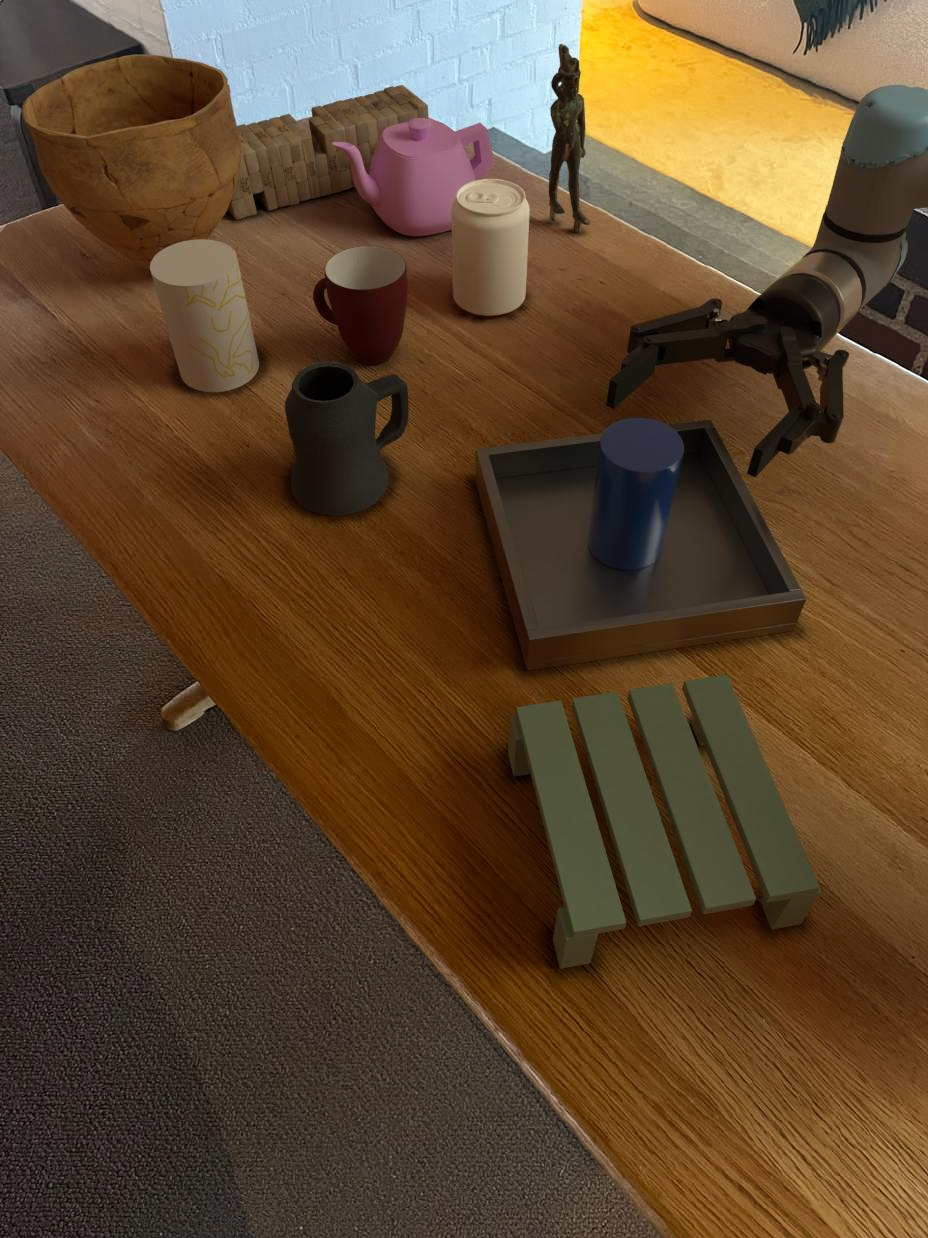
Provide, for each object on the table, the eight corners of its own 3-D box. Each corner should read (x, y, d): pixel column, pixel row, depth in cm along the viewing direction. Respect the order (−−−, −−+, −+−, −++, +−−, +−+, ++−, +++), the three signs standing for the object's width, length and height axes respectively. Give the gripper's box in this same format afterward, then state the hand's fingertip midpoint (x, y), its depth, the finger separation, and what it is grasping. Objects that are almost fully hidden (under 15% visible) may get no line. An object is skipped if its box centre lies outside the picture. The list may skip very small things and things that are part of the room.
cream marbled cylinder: (213, 402, 96) (185, 296, 87) (164, 369, 100) (132, 263, 90) (275, 365, 100) (254, 259, 91) (226, 335, 103) (201, 230, 94)
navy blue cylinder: (653, 578, 80) (674, 480, 71) (578, 559, 81) (590, 460, 72) (669, 526, 83) (691, 427, 75) (598, 509, 85) (611, 410, 76)
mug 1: (301, 363, 100) (286, 276, 92) (333, 321, 105) (321, 235, 97) (394, 383, 98) (387, 296, 90) (423, 339, 103) (418, 253, 95)
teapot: (325, 206, 121) (314, 115, 112) (470, 174, 126) (470, 84, 117) (361, 258, 113) (351, 164, 104) (514, 222, 118) (517, 129, 109)
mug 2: (321, 530, 85) (304, 430, 76) (273, 473, 90) (251, 373, 81) (434, 476, 89) (429, 376, 80) (382, 425, 94) (373, 325, 85)
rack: (800, 924, 62) (826, 886, 57) (559, 969, 60) (566, 933, 56) (716, 720, 72) (733, 673, 67) (507, 753, 70) (510, 707, 66)
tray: (793, 631, 77) (806, 598, 74) (526, 671, 75) (529, 639, 72) (703, 452, 91) (711, 418, 88) (475, 481, 89) (475, 448, 86)
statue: (570, 246, 114) (585, 66, 99) (533, 226, 117) (542, 48, 102) (597, 232, 116) (616, 53, 101) (560, 213, 119) (572, 36, 104)
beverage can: (520, 323, 104) (524, 218, 95) (447, 316, 105) (444, 211, 96) (529, 282, 109) (535, 179, 100) (460, 276, 110) (458, 173, 101)
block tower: (225, 230, 119) (433, 167, 127) (209, 163, 112) (429, 100, 120) (204, 202, 123) (407, 143, 131) (187, 136, 117) (401, 77, 125)
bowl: (78, 330, 104) (8, 144, 89) (85, 235, 117) (26, 57, 101) (269, 307, 107) (235, 121, 91) (256, 216, 119) (224, 40, 104)
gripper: (917, 398, 86) (807, 528, 76) (679, 299, 97) (554, 403, 86) (949, 325, 81) (835, 456, 70) (692, 229, 91) (560, 331, 81)
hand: (680, 427), depth 78 cm, fingers open, 13 cm apart
